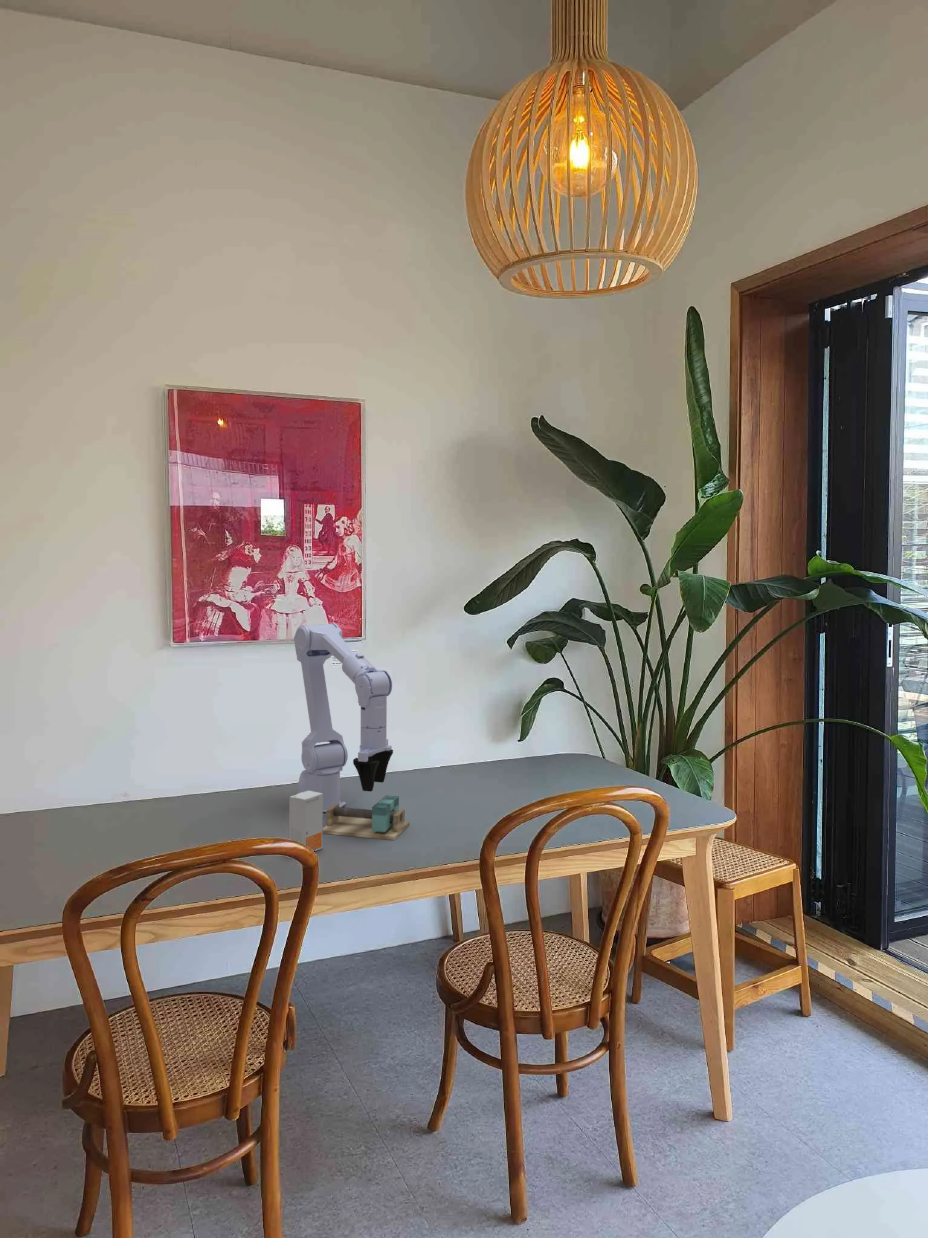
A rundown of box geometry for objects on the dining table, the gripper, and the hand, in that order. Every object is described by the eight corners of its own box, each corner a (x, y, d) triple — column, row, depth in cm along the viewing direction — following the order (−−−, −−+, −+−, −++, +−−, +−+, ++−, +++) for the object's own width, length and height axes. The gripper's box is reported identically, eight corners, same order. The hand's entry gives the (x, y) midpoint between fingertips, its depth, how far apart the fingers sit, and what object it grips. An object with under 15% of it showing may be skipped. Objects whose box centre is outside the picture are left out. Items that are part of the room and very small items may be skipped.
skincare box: (304, 857, 199) (304, 799, 198) (288, 853, 201) (288, 796, 200) (323, 848, 204) (323, 793, 203) (308, 845, 206) (307, 789, 205)
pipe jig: (320, 833, 214) (320, 813, 214) (338, 819, 225) (338, 799, 224) (394, 840, 210) (394, 819, 210) (409, 825, 221) (409, 805, 220)
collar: (372, 830, 212) (372, 807, 212) (386, 818, 221) (386, 795, 221) (385, 832, 211) (385, 808, 211) (398, 819, 221) (398, 796, 220)
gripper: (380, 733, 207) (379, 796, 208) (400, 720, 221) (400, 779, 222) (348, 731, 209) (348, 793, 210) (371, 718, 223) (371, 777, 224)
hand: (373, 786), depth 216 cm, fingers open, 7 cm apart
